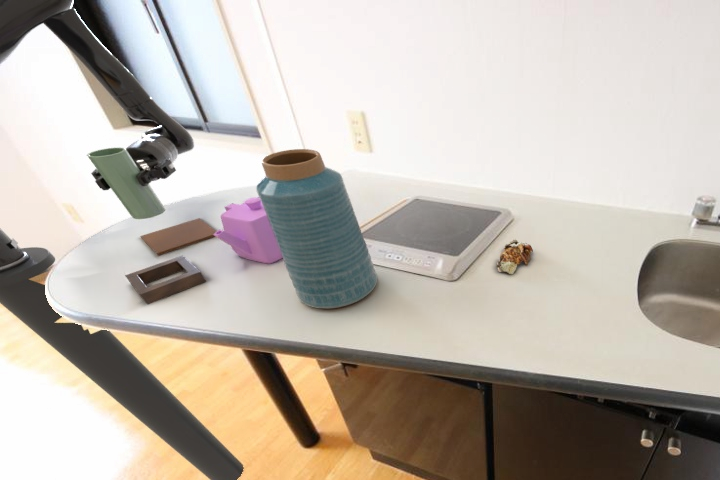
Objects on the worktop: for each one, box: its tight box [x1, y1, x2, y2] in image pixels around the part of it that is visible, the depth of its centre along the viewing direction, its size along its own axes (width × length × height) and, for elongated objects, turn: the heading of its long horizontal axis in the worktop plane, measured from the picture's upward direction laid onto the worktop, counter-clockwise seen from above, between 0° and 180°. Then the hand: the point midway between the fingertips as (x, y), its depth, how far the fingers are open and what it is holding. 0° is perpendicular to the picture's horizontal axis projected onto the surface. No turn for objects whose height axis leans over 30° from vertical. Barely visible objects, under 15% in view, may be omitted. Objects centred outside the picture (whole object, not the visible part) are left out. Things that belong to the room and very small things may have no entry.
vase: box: [255, 148, 378, 309], centre depth 69 cm, size 16×16×27 cm
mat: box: [139, 217, 218, 256], centre depth 96 cm, size 14×14×1 cm
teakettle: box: [213, 196, 283, 265], centre depth 87 cm, size 17×17×12 cm
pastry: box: [496, 238, 534, 275], centre depth 85 cm, size 7×12×4 cm, turn 162°
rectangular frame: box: [124, 255, 207, 305], centre depth 79 cm, size 11×11×2 cm
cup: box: [86, 147, 166, 220], centre depth 78 cm, size 6×6×13 cm
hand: (121, 183), depth 76 cm, fingers closed on cup, 6 cm apart
